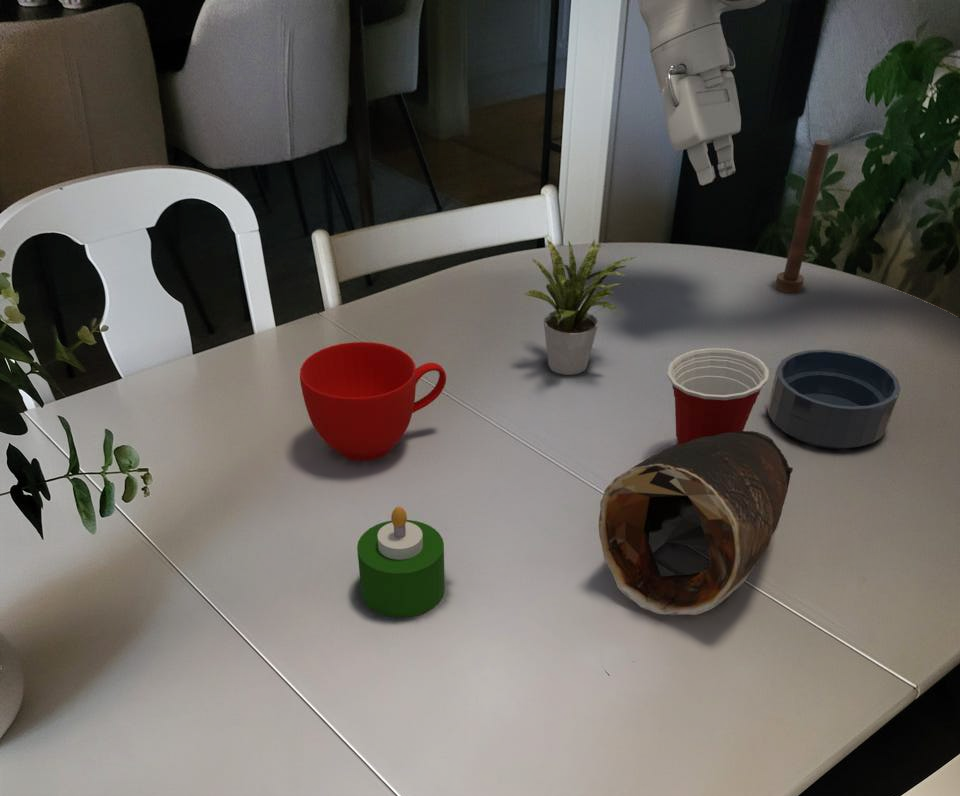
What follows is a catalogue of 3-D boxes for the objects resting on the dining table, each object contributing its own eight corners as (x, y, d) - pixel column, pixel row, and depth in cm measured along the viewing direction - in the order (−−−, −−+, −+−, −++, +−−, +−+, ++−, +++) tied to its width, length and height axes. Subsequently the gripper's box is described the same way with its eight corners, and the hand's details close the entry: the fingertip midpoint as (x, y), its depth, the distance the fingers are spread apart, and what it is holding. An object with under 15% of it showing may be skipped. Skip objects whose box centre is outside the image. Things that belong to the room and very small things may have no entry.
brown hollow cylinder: (845, 410, 100) (756, 482, 82) (816, 546, 108) (729, 639, 90) (709, 385, 107) (600, 447, 89) (691, 514, 115) (588, 595, 97)
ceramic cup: (466, 456, 114) (466, 378, 107) (326, 486, 109) (317, 408, 102) (427, 402, 123) (425, 328, 116) (296, 429, 118) (286, 353, 111)
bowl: (857, 390, 126) (870, 347, 122) (904, 449, 116) (920, 405, 112) (751, 395, 125) (761, 352, 121) (790, 456, 115) (802, 411, 111)
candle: (343, 591, 96) (334, 509, 90) (401, 552, 101) (396, 471, 94) (404, 629, 93) (400, 546, 86) (461, 586, 97) (461, 504, 90)
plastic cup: (649, 435, 118) (663, 343, 110) (739, 437, 118) (759, 345, 109) (658, 487, 110) (674, 392, 102) (754, 489, 110) (778, 394, 102)
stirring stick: (796, 281, 150) (831, 137, 136) (805, 292, 147) (842, 146, 133) (771, 282, 150) (803, 138, 136) (780, 293, 147) (814, 147, 133)
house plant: (619, 402, 123) (635, 276, 112) (511, 391, 125) (516, 266, 114) (626, 349, 134) (641, 229, 122) (526, 340, 135) (532, 220, 124)
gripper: (690, 54, 112) (719, 179, 117) (736, 52, 128) (761, 163, 132) (640, 76, 116) (670, 197, 120) (691, 73, 131) (716, 180, 136)
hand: (718, 179), depth 126 cm, fingers open, 8 cm apart
